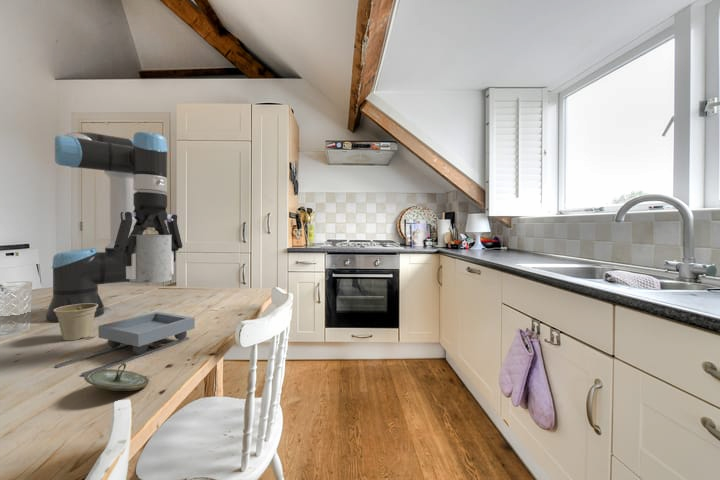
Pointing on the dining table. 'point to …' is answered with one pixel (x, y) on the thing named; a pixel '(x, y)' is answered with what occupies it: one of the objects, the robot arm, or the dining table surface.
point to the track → (154, 344)
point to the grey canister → (152, 258)
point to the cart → (145, 330)
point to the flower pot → (76, 320)
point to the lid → (117, 379)
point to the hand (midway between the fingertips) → (151, 276)
